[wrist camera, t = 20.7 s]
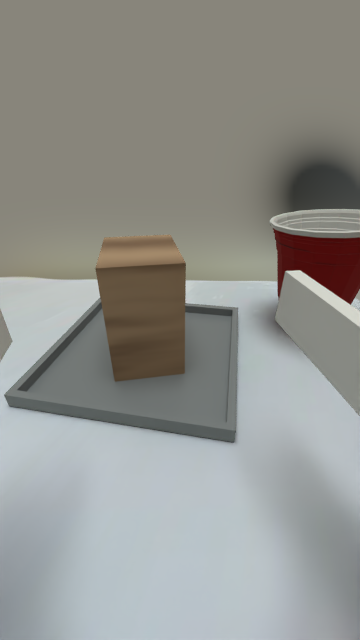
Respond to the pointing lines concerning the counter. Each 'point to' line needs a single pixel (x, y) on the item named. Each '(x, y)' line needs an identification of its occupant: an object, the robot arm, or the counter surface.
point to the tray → (140, 394)
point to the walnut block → (143, 305)
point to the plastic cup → (321, 248)
